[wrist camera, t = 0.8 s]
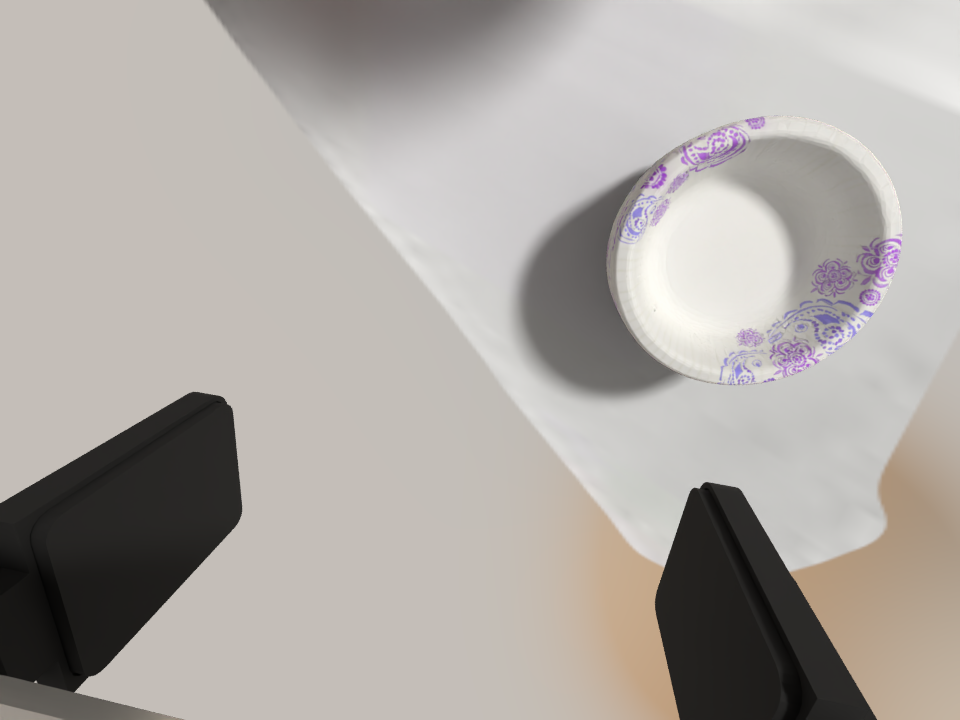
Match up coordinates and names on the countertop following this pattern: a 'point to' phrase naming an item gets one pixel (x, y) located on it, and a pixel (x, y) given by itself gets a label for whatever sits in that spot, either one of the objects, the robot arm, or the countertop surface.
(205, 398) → the robot arm
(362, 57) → the countertop surface
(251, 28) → the countertop surface
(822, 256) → the paper bowls
